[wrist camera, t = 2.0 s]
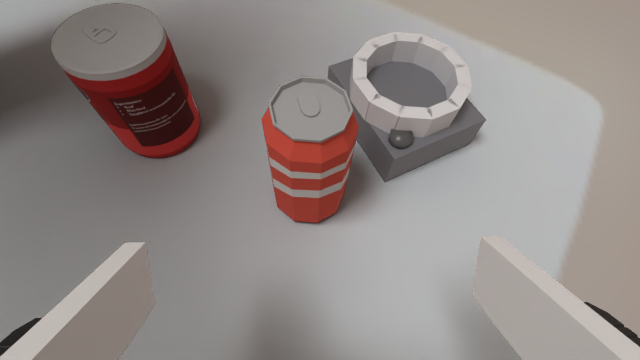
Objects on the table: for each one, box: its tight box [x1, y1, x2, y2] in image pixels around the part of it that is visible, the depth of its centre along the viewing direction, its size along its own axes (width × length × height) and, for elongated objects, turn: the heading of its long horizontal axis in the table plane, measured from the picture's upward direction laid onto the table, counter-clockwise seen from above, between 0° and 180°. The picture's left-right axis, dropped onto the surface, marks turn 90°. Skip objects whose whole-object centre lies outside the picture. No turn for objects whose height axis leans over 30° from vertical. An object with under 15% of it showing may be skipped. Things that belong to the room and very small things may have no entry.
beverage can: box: [262, 76, 359, 223], centre depth 26 cm, size 6×6×12 cm
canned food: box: [51, 3, 200, 158], centre depth 30 cm, size 8×8×11 cm
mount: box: [328, 32, 486, 182], centre depth 33 cm, size 12×10×6 cm
